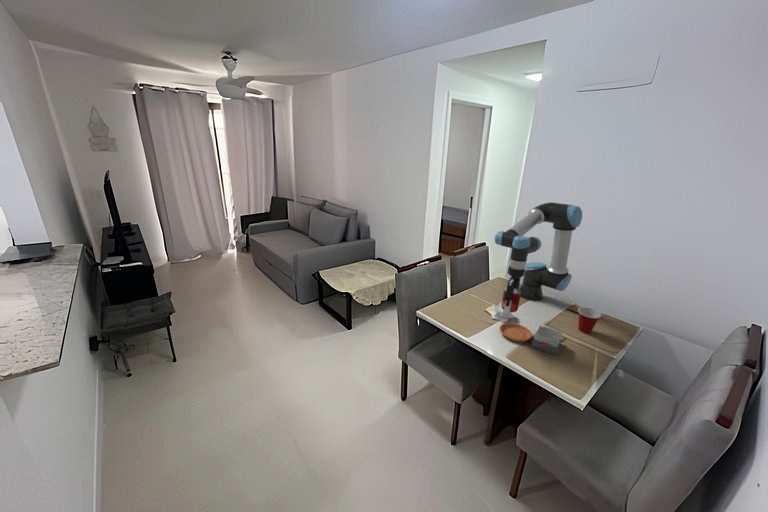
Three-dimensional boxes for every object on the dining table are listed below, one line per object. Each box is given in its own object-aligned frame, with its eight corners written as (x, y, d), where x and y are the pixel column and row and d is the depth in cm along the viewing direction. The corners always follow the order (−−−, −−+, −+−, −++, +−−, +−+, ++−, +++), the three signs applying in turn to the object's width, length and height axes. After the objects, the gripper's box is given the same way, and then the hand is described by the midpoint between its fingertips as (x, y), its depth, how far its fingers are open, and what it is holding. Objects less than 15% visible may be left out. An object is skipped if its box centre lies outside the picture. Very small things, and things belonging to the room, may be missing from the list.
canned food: (518, 313, 153) (522, 293, 149) (502, 311, 155) (505, 291, 151) (516, 306, 160) (519, 287, 156) (500, 304, 162) (503, 285, 158)
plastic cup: (570, 330, 166) (575, 311, 162) (575, 323, 174) (580, 304, 170) (594, 338, 159) (599, 318, 156) (597, 330, 167) (603, 311, 163)
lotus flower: (490, 321, 173) (492, 308, 170) (485, 309, 187) (487, 296, 184) (516, 324, 171) (519, 310, 168) (509, 311, 185) (512, 298, 183)
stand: (537, 335, 161) (539, 324, 158) (560, 343, 154) (563, 331, 152) (531, 346, 151) (534, 334, 148) (556, 355, 144) (559, 343, 142)
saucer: (537, 343, 154) (539, 338, 153) (509, 345, 152) (510, 340, 151) (519, 326, 169) (520, 321, 168) (493, 328, 167) (494, 323, 166)
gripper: (515, 260, 160) (508, 299, 167) (502, 270, 144) (495, 313, 152) (530, 263, 155) (522, 303, 163) (518, 275, 140) (510, 318, 147)
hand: (509, 308), depth 157 cm, fingers closed on canned food, 8 cm apart
